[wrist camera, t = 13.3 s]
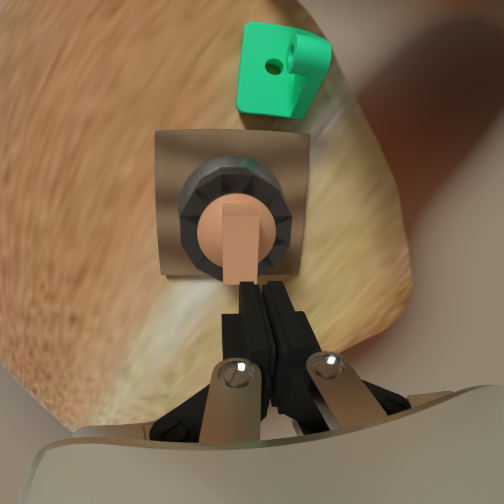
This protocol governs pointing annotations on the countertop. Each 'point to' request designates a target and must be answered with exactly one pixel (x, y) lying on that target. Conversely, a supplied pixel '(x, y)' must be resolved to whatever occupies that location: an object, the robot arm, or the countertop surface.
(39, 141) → the countertop surface
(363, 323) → the countertop surface
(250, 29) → the camera mount
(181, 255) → the mount board
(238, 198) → the tan knob
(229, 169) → the black hollow cylinder
